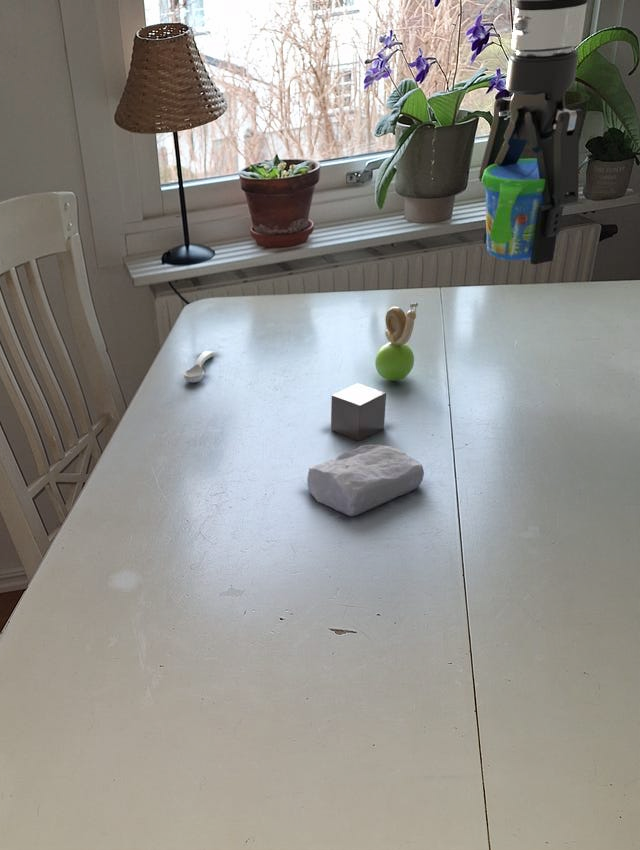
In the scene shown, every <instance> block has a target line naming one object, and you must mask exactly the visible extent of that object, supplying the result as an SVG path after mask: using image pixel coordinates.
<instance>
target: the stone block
mask: <svg viewBox="0 0 640 850" xmlns="http://www.w3.org/2000/svg"><path fill="white" fill-rule="evenodd" d="M424 475H425V471H424V466H423V464H421V463H420V462H419V461H418V460H416V459H415V458H414V457H412V456H409V455H408V454H406V453H405V452H403V451H401V450H399V449H398V448H396V447H393V446H390V445H384V444H364V445H361V446H359V447H358V448H355V449H351V450H347V451H345V452H343V453H341V454H339V455H338V456H337V457H335V458H334V459H332V460H328V461H326V462H324V463H320V464H317V465H314V466H312V467H309V468H308V472H307V477H306V481H307V489H308V492H309V494H310V495H311V496H312V497H313V498H314V500H316V502H318V503H320V504H323V505H325V506H327V507H329V508H332V509H334V510H335V511H337V512H339V513H341V514H344V515H346V516H347V517H356V516H359V515H360V514H363V513H366V512H368V511H370V510H372V509H374V508H377V507H379V506H380V505H383V504H385V503H388V502H390V501H393V500H394V499H395V498H397V497H399V496H403V495H406V494H408V493H410V492H412V491H414V490H415V489H416V488H418V487H419V486H420V485H421V484H422V481H423V479H424Z"/></svg>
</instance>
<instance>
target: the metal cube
mask: <svg viewBox="0 0 640 850" xmlns="http://www.w3.org/2000/svg"><path fill="white" fill-rule="evenodd" d="M386 402H387V392H384V391H381V390H379V389H376V388H373V387H370V386H367V385H364V384H361V383H359V382H358V383H357V382H356V383H354V384H353V385H350V386H348V387H346V388H344V389H342V390H340V391H338V392H335V393H333V394H332V395H331V405H330V406H331V408H330V410H331V413H330V431H332V432H335V433H337V434H340V435H342V436H345V437H347V438H350V439H352V440H355V441H357V442H360V441H361V440H363V439H366V438H368V437H369V436H371V435H374V434H375V433H377V432H380V431H381V430H383V429H384V428H385V421H386V420H385V419H386Z"/></svg>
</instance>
